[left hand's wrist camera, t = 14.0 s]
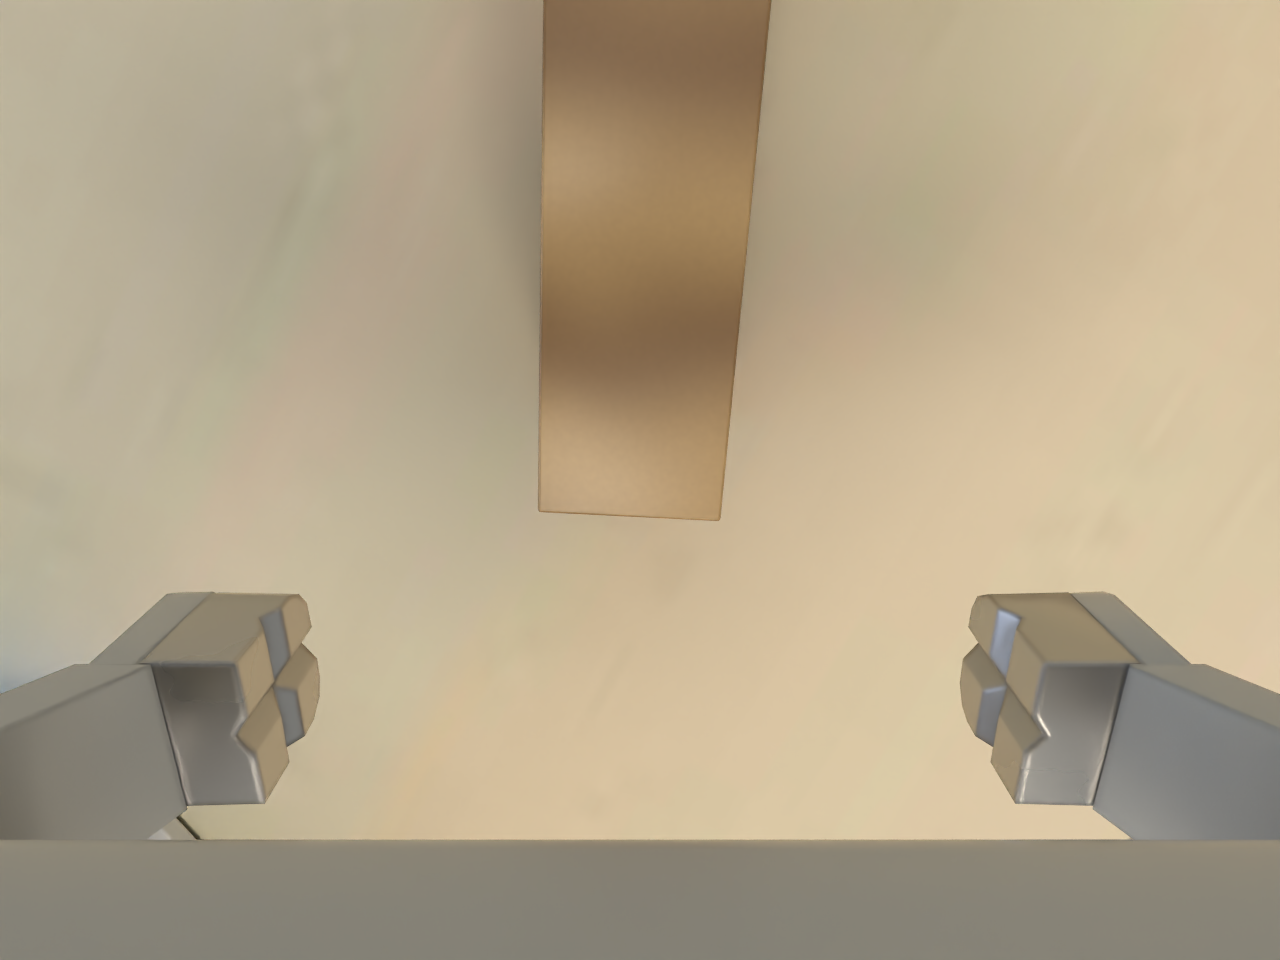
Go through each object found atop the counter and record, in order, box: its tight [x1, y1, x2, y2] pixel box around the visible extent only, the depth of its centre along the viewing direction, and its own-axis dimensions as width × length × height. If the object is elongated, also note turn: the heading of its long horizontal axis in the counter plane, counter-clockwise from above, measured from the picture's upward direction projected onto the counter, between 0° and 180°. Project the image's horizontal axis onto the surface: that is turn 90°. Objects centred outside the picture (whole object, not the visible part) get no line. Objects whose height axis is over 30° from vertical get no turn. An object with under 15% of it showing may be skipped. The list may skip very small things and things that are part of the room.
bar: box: [538, 0, 771, 521], centre depth 25 cm, size 24×6×9 cm, turn 177°
